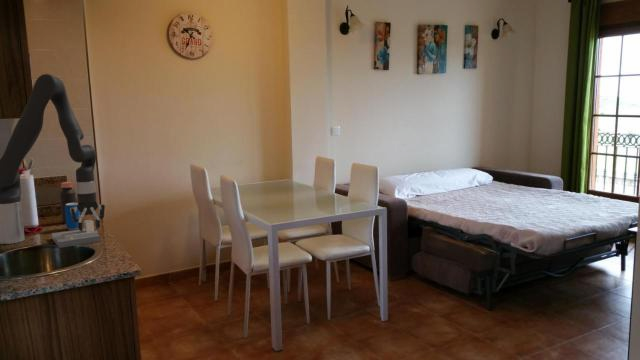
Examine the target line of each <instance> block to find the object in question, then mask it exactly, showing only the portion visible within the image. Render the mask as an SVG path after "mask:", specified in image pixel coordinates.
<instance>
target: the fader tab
mask: <svg viewBox="0 0 640 360" xmlns="http://www.w3.org/2000/svg"><path fill="white" fill-rule="evenodd" d="M94 222H95V221H94V220H92V219H87V220H83V223H84V225H83V226H84V227H83V228H84V229H85V232H86V233H88V232H94V231H95V225H94Z"/></svg>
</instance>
